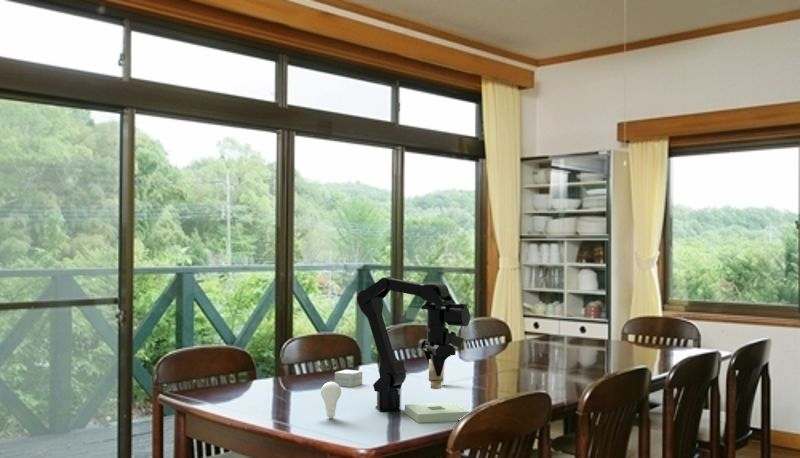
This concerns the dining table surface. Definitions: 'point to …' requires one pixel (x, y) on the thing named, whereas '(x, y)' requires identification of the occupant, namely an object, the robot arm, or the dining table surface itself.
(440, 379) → the peg
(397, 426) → the dining table surface
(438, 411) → the board
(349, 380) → the small box
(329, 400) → the lightbulb
